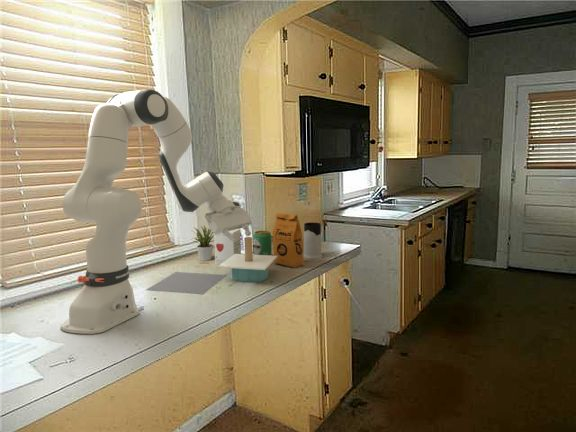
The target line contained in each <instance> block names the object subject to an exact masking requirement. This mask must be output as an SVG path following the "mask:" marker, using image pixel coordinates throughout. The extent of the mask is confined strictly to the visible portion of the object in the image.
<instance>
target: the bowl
mask: <svg viewBox="0 0 576 432" xmlns="http://www.w3.org/2000/svg"><path fill="white" fill-rule="evenodd" d="M268 277H269V266H268V267H267V268H266V269H265V270H254V269H236V268H230V278H231V279H232V280H234V281H237V282H247V283H248V282H249V283H250V282H253V283H259V282H262V281H266V279H268Z"/></svg>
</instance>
